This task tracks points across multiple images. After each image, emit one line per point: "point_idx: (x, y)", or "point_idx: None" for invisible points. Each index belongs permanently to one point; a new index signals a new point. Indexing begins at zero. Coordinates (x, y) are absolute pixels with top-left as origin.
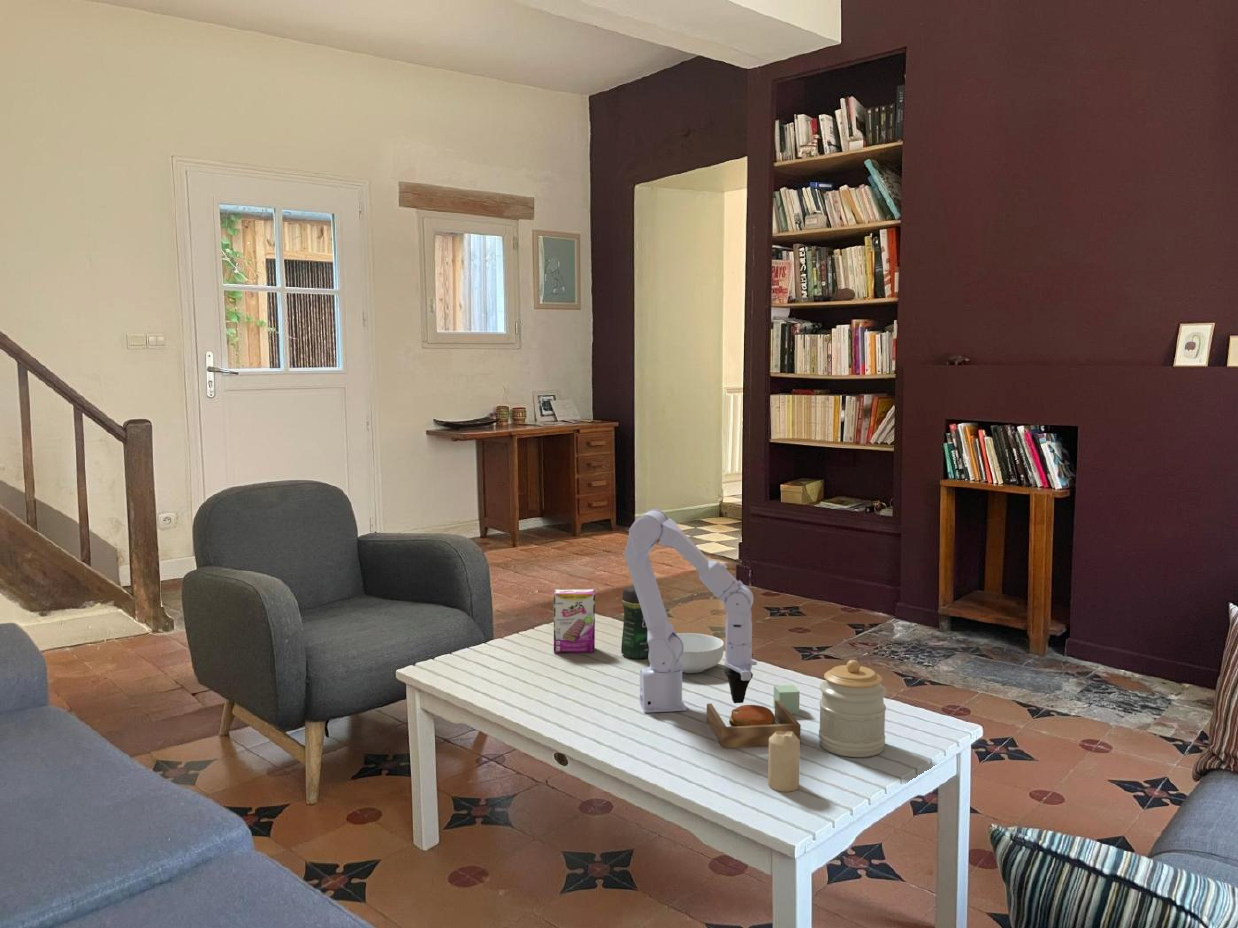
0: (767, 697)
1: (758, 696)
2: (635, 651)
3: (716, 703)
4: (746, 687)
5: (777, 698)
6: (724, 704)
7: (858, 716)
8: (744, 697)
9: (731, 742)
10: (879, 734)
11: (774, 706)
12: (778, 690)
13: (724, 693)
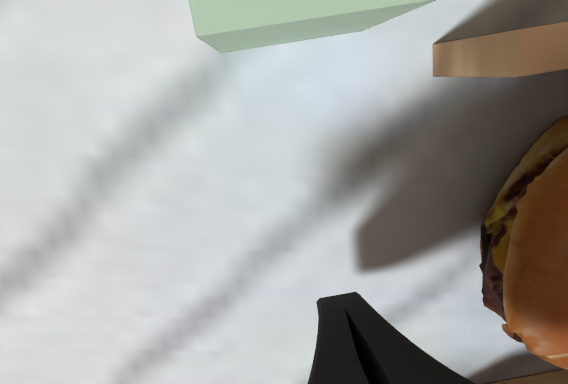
0: (15, 71)
1: (9, 136)
2: None
3: (189, 373)
4: (437, 363)
5: (335, 25)
6: (200, 338)
7: None
8: (371, 307)
9: None
10: None
11: (246, 48)
12: (369, 2)
13: (7, 336)
